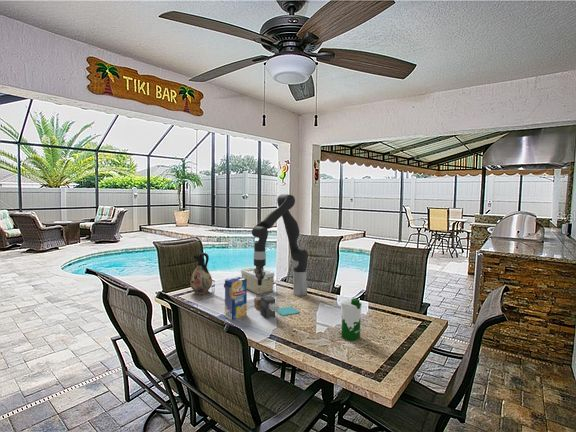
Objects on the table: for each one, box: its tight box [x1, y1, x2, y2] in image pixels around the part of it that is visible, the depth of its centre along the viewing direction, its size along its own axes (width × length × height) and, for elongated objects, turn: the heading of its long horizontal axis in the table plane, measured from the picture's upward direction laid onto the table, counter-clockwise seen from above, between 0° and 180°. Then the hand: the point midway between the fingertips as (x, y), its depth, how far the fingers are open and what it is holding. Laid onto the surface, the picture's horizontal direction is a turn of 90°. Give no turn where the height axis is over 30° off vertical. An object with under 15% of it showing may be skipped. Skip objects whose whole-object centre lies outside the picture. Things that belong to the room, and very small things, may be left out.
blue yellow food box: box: [224, 276, 248, 321], centre depth 194 cm, size 7×11×22 cm, turn 138°
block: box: [253, 296, 262, 310], centre depth 209 cm, size 4×4×6 cm
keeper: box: [260, 295, 276, 319], centre depth 196 cm, size 7×7×11 cm
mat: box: [275, 305, 301, 317], centre depth 204 cm, size 12×12×1 cm
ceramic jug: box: [190, 252, 213, 295], centre depth 238 cm, size 17×15×30 cm
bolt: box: [267, 302, 280, 312], centre depth 193 cm, size 4×16×2 cm, turn 27°
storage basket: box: [240, 266, 275, 295], centre depth 249 cm, size 24×16×15 cm
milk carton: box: [340, 298, 363, 342], centre depth 167 cm, size 9×9×20 cm
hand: (259, 284), depth 208 cm, fingers closed
